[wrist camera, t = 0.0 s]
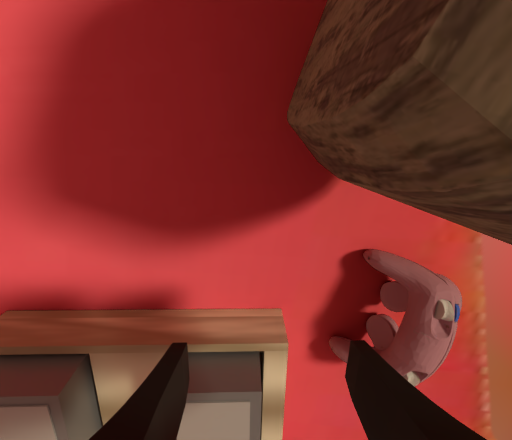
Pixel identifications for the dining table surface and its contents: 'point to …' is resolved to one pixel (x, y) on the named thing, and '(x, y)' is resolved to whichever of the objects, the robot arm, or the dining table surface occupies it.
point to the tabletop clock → (415, 104)
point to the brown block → (48, 397)
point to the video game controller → (410, 318)
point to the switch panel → (154, 346)
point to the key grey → (223, 397)
